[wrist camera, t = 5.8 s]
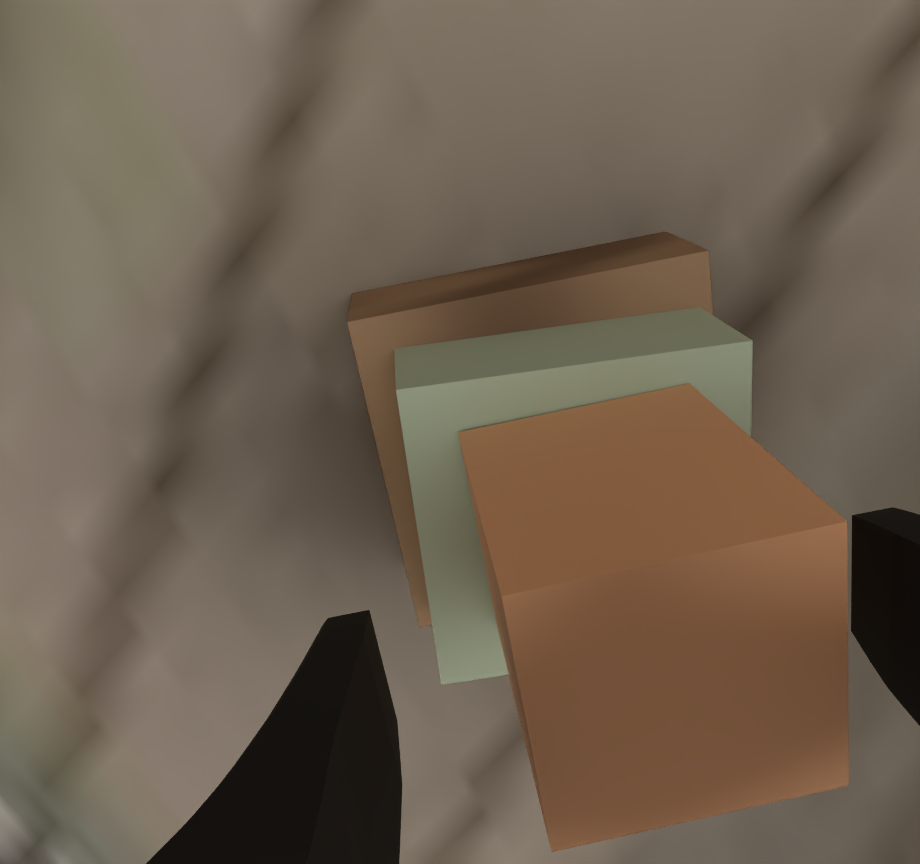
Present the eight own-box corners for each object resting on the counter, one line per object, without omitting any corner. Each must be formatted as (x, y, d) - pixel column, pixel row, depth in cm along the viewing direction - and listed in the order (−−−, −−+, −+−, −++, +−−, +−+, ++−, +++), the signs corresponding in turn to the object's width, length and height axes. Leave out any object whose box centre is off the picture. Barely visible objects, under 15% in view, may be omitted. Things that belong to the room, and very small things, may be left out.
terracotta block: (690, 383, 14) (847, 521, 9) (706, 582, 16) (848, 785, 11) (457, 432, 14) (501, 596, 9) (497, 627, 15) (551, 852, 11)
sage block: (699, 306, 16) (752, 340, 14) (702, 571, 18) (747, 638, 16) (393, 348, 16) (396, 390, 14) (433, 611, 18) (441, 684, 16)
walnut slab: (659, 229, 19) (708, 250, 16) (683, 503, 21) (729, 563, 18) (352, 289, 18) (347, 322, 16) (414, 558, 21) (419, 627, 18)
